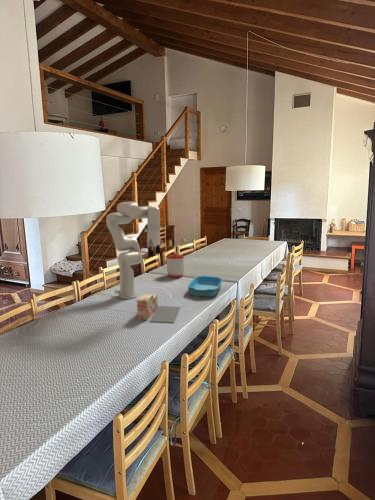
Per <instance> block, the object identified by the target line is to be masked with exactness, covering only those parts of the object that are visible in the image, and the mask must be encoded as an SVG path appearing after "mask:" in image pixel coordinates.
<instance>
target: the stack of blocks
mask: <svg viewBox="0 0 375 500" xmlns="http://www.w3.org/2000/svg"><path fill="white" fill-rule="evenodd" d="M158 303H159V301H158V294H156V293H142V295H140V297H139V298H137V301H136V304H137V310H136V311H137V320H138V321H139V320H140V321H149V320H150V319H151V318H152V316H153V315H154V313H155V311H156V310H157V308H158V306H159V305H158Z"/></svg>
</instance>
